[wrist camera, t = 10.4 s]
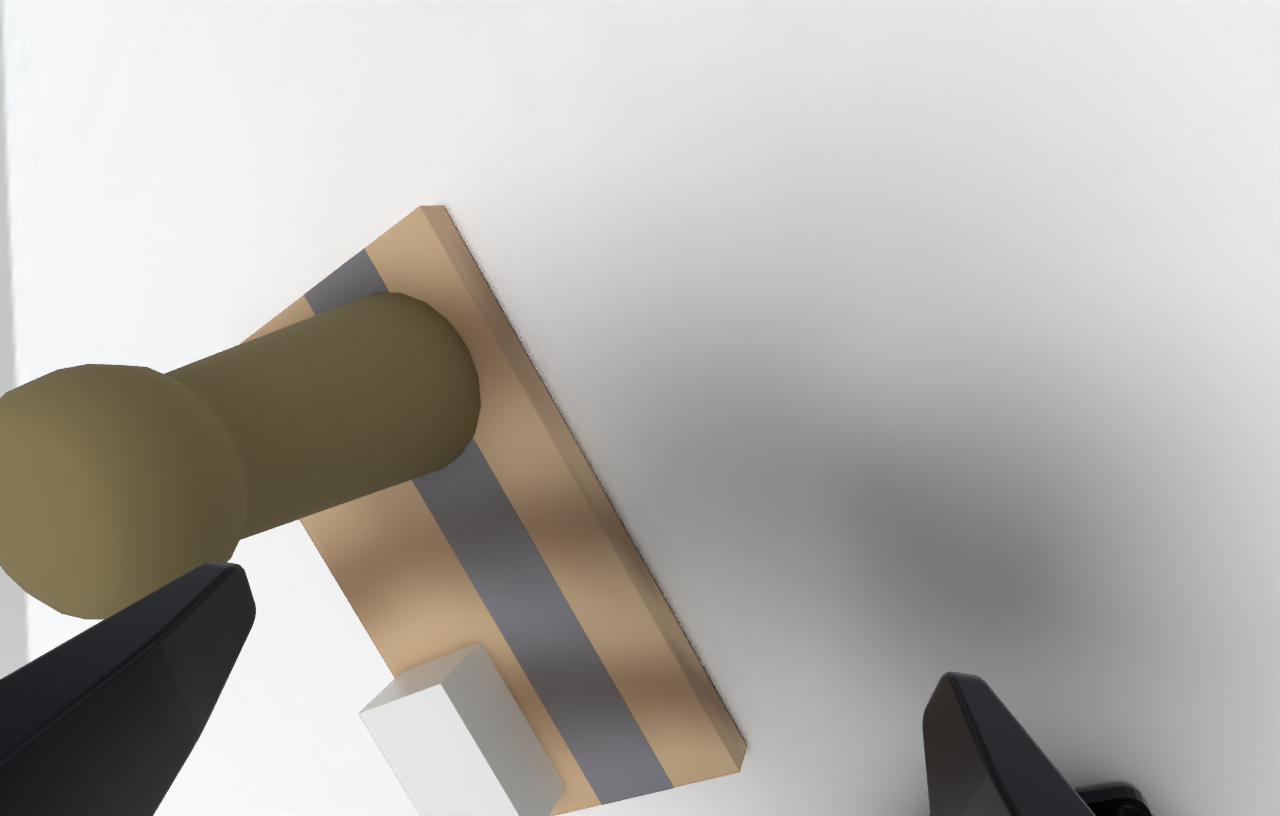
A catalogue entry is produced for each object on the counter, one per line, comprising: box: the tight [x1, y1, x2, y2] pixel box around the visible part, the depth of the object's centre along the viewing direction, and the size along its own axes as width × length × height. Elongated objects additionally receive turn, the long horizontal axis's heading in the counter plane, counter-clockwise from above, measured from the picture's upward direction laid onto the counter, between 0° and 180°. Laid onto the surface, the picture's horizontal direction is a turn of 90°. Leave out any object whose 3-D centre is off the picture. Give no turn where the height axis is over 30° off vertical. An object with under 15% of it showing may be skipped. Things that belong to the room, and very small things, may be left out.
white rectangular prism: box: [358, 642, 565, 816], centre depth 25 cm, size 6×4×2 cm, turn 31°
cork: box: [0, 292, 481, 619], centre depth 18 cm, size 6×6×11 cm
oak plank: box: [239, 206, 747, 816], centre depth 25 cm, size 20×11×1 cm, turn 31°
